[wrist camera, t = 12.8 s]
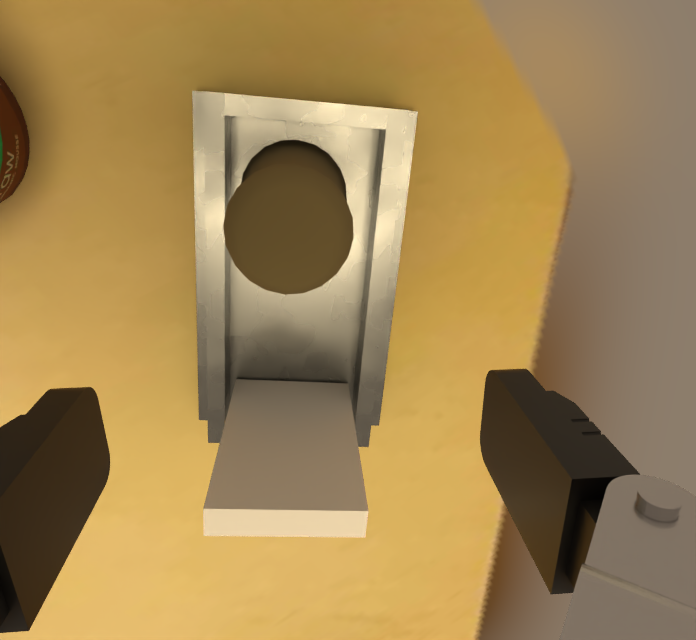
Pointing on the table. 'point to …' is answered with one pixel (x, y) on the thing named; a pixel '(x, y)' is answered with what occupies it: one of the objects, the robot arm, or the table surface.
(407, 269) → the table surface
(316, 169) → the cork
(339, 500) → the panel
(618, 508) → the robot arm
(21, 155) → the food container
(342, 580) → the table surface
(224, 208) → the grey metal tray
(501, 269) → the table surface
